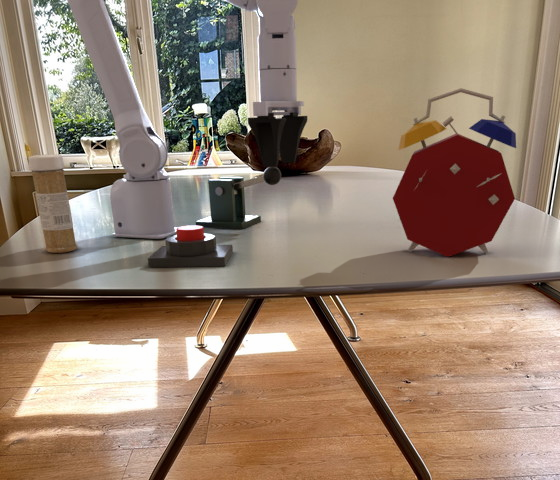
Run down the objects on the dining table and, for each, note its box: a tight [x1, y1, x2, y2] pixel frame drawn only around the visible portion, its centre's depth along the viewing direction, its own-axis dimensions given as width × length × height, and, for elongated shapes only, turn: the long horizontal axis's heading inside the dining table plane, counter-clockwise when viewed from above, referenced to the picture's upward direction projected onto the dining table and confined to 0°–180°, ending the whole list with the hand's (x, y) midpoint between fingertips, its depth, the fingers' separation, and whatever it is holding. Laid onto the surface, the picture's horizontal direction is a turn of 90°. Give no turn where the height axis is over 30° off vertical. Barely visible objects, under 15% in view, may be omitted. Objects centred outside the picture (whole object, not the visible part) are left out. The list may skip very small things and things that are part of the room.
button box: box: [147, 233, 234, 268], centre depth 80 cm, size 10×8×3 cm
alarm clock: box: [392, 87, 517, 258], centre depth 75 cm, size 15×9×20 cm, turn 76°
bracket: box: [195, 176, 262, 230], centre depth 105 cm, size 9×8×8 cm
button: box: [175, 224, 205, 241], centre depth 79 cm, size 4×4×2 cm
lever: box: [234, 166, 282, 195], centre depth 102 cm, size 12×3×3 cm, turn 68°
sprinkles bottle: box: [27, 153, 78, 254], centre depth 86 cm, size 5×5×14 cm
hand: (279, 164), depth 96 cm, fingers open, 7 cm apart
